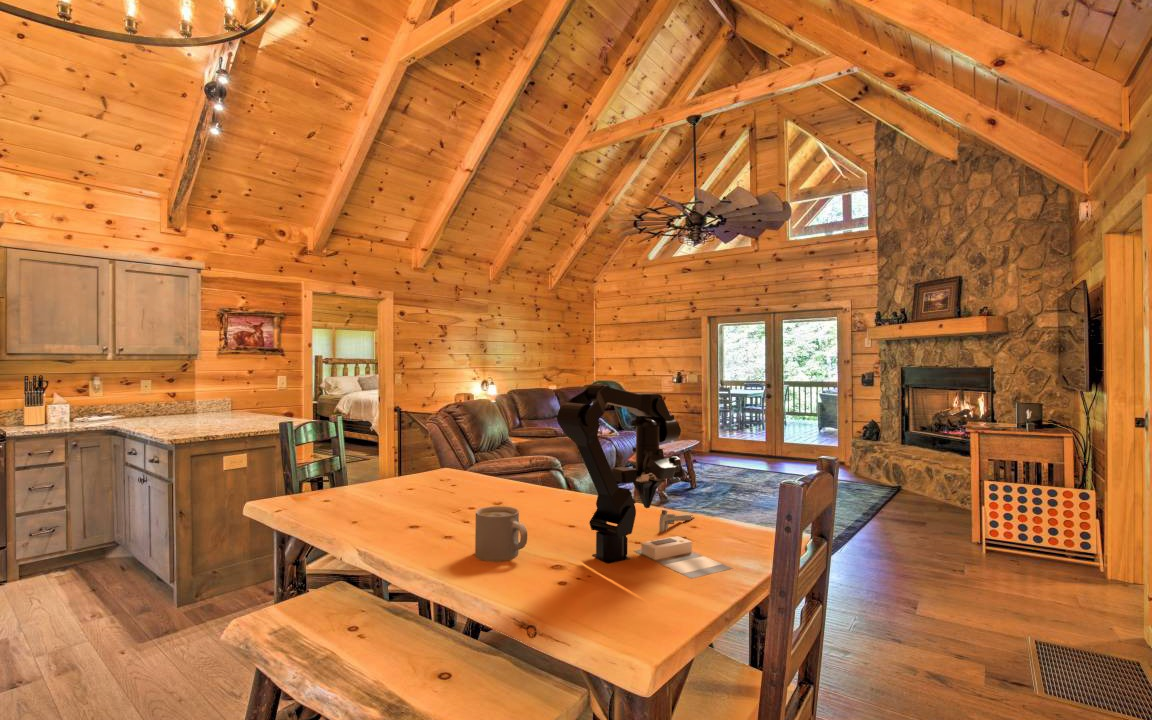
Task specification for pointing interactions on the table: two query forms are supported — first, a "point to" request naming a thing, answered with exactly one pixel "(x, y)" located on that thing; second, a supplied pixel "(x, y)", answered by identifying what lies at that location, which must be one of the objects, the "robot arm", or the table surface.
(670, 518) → the caliper
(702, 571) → the subfloor panel
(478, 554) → the coffee mug
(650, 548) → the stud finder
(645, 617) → the table surface
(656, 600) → the table surface
